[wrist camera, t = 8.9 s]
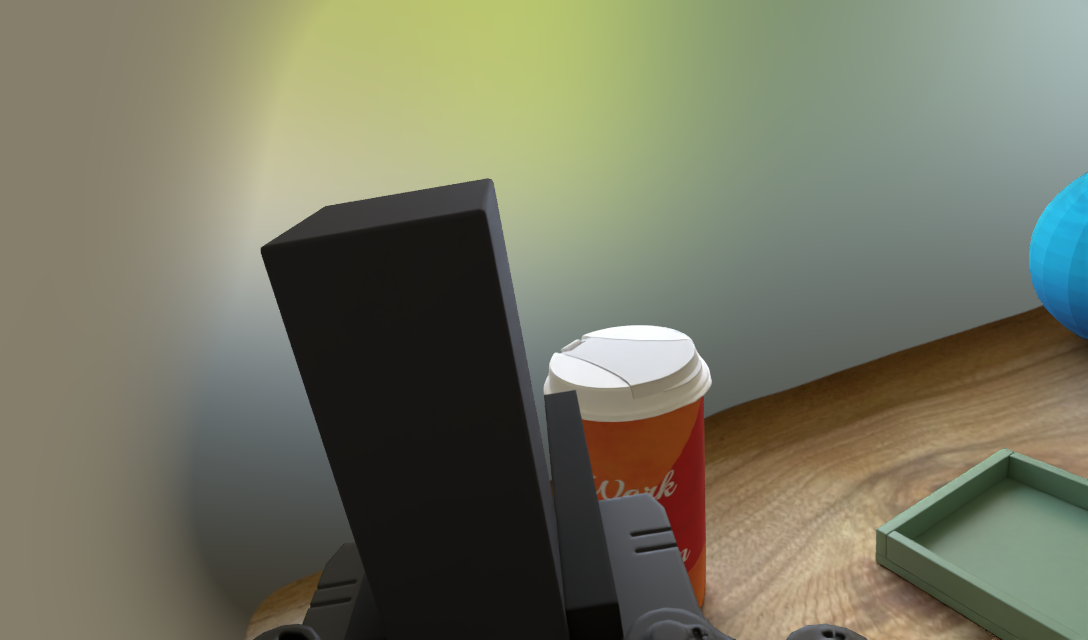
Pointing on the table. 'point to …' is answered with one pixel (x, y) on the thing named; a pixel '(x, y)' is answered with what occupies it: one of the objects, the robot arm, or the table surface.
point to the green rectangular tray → (1000, 548)
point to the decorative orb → (1063, 257)
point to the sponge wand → (426, 409)
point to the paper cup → (644, 423)
